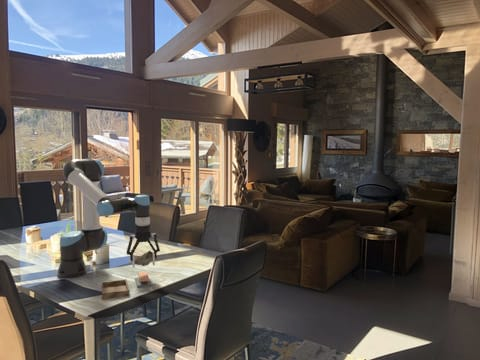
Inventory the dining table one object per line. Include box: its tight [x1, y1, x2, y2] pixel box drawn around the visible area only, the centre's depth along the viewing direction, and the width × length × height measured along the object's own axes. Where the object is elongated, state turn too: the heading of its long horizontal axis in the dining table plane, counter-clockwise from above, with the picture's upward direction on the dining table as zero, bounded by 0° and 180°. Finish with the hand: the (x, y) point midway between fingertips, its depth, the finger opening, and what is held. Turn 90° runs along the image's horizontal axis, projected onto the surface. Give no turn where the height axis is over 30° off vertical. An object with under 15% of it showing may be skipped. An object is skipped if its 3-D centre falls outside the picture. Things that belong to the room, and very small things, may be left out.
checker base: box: [134, 274, 154, 289], centre depth 201 cm, size 8×12×3 cm, turn 22°
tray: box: [100, 278, 130, 300], centre depth 189 cm, size 13×16×3 cm
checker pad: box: [137, 271, 149, 282], centre depth 201 cm, size 4×11×1 cm, turn 22°
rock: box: [134, 250, 153, 267], centre depth 203 cm, size 11×6×10 cm
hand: (143, 265), depth 200 cm, fingers closed on rock, 10 cm apart
